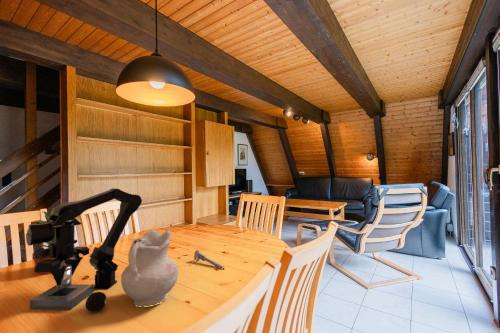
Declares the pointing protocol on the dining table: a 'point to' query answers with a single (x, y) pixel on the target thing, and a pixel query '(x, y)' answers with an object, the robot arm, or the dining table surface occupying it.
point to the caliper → (205, 259)
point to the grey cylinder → (66, 277)
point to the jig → (62, 297)
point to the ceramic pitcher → (149, 269)
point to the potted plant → (45, 245)
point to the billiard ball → (96, 302)
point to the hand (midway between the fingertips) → (64, 281)
